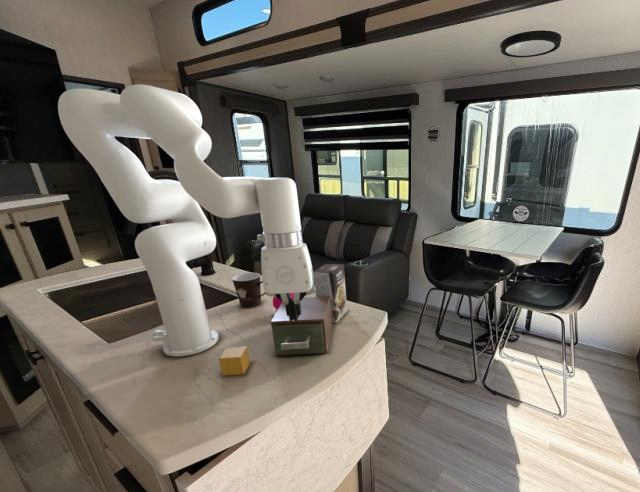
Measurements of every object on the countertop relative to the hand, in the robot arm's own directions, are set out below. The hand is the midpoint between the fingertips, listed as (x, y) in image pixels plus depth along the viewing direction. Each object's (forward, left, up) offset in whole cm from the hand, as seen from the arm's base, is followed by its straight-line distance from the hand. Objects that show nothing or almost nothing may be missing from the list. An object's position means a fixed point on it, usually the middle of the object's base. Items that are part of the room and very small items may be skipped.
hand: (294, 317), depth 73 cm
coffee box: (+6, +25, -12) cm, 28 cm away
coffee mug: (-22, +37, -12) cm, 45 cm away
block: (-14, -1, -12) cm, 19 cm away
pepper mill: (-9, +28, -12) cm, 31 cm away
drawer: (0, +6, -11) cm, 13 cm away
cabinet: (0, +11, -12) cm, 16 cm away
